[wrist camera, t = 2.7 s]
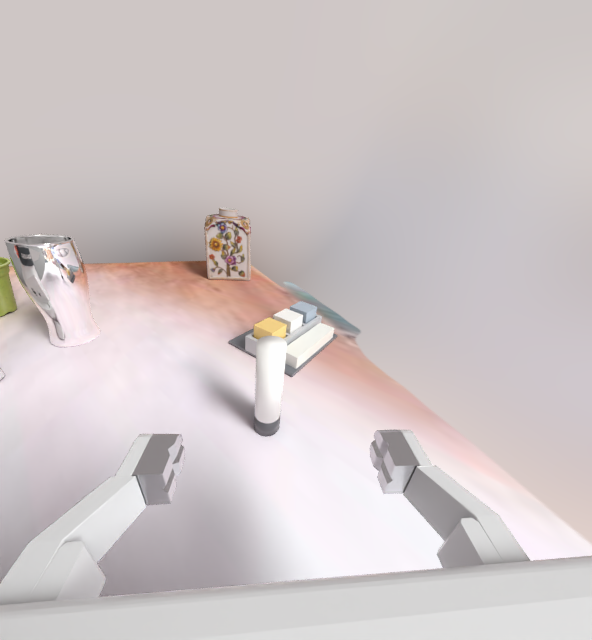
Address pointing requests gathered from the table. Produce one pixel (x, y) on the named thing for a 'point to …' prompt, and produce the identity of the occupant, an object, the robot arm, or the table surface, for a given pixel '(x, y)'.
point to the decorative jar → (227, 246)
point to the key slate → (305, 311)
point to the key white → (289, 320)
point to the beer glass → (55, 285)
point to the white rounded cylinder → (269, 383)
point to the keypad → (294, 344)
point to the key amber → (269, 328)
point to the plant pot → (6, 289)
